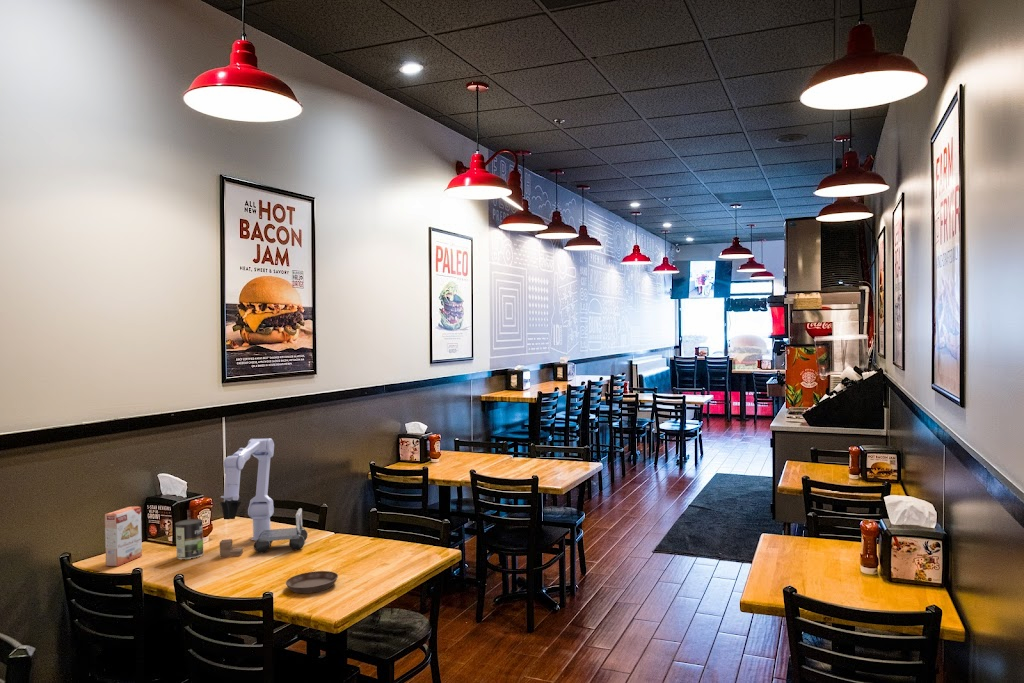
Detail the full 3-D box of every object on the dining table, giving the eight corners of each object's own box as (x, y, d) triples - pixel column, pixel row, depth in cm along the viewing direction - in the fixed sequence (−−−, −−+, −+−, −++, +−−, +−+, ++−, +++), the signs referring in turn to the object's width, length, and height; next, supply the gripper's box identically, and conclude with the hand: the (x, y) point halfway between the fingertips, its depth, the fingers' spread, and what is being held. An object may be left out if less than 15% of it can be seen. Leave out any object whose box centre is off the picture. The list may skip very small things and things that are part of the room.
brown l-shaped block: (222, 554, 294) (222, 539, 294) (242, 552, 296) (242, 538, 296) (220, 557, 290) (219, 542, 290) (240, 555, 291) (240, 541, 291)
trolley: (259, 545, 306) (258, 511, 306) (307, 541, 310) (306, 507, 310) (254, 553, 294) (252, 518, 294) (304, 549, 297) (303, 514, 297)
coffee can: (208, 551, 299) (206, 518, 299) (196, 559, 289) (195, 524, 289) (183, 552, 299) (182, 519, 299) (171, 560, 289) (170, 525, 289)
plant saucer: (275, 590, 248) (274, 582, 248) (315, 576, 262) (314, 567, 262) (309, 599, 238) (309, 590, 238) (348, 583, 253) (348, 574, 253)
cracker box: (118, 567, 282) (116, 514, 282) (105, 566, 283) (103, 514, 283) (143, 556, 296) (141, 506, 296) (130, 556, 297) (128, 505, 297)
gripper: (217, 485, 297) (214, 519, 293) (226, 484, 285) (223, 519, 282) (234, 486, 301) (232, 519, 297) (244, 484, 289) (241, 518, 286)
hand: (229, 519), depth 290 cm, fingers open, 7 cm apart
